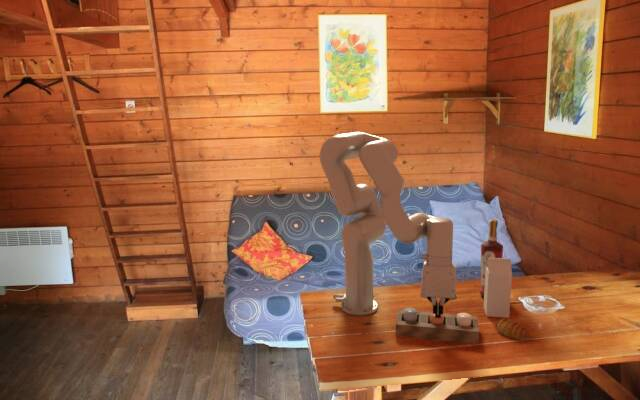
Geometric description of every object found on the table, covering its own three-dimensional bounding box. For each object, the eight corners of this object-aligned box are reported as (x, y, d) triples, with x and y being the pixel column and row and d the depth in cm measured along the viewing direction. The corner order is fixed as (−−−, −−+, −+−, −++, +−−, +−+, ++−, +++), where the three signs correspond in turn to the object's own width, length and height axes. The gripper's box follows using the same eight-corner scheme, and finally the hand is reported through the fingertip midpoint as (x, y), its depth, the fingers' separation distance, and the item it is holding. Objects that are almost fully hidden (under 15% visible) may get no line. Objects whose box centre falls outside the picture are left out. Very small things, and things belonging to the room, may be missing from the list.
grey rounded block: (402, 325, 148) (402, 313, 147) (403, 318, 152) (404, 307, 151) (416, 326, 147) (416, 314, 146) (417, 320, 151) (417, 308, 150)
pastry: (534, 336, 144) (535, 324, 143) (523, 344, 140) (524, 332, 139) (505, 325, 151) (506, 314, 150) (494, 332, 147) (494, 321, 146)
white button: (456, 330, 144) (457, 318, 143) (456, 324, 148) (456, 312, 147) (471, 332, 143) (471, 319, 142) (470, 325, 147) (471, 313, 146)
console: (395, 336, 146) (395, 324, 145) (398, 320, 155) (398, 309, 154) (478, 344, 140) (478, 331, 139) (476, 327, 150) (476, 316, 149)
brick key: (429, 330, 146) (429, 318, 145) (429, 323, 150) (430, 311, 149) (443, 331, 145) (443, 319, 144) (443, 324, 149) (444, 313, 148)
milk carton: (509, 318, 155) (512, 262, 151) (486, 316, 156) (489, 261, 152) (505, 308, 162) (508, 255, 157) (483, 307, 163) (486, 254, 159)
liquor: (476, 297, 170) (480, 222, 164) (481, 290, 177) (485, 216, 170) (497, 301, 167) (502, 224, 160) (502, 294, 173) (506, 219, 166)
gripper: (412, 262, 140) (412, 319, 145) (465, 264, 137) (463, 323, 141) (414, 253, 148) (413, 308, 152) (464, 256, 144) (462, 312, 148)
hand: (437, 315), depth 146 cm, fingers closed
